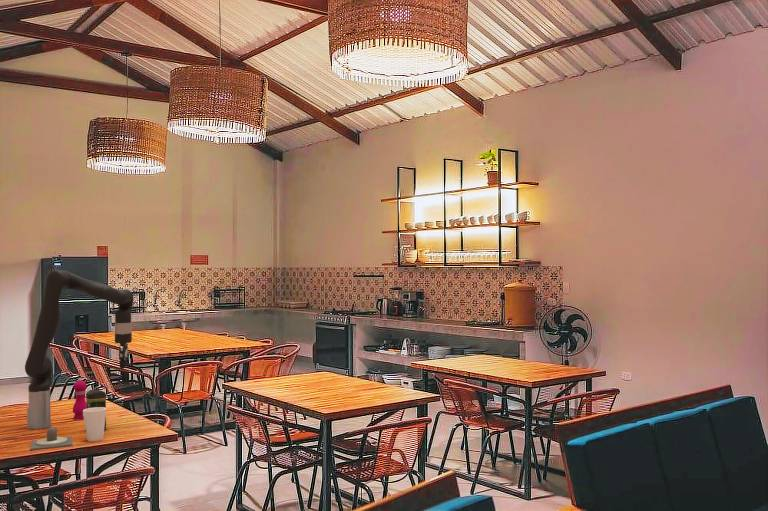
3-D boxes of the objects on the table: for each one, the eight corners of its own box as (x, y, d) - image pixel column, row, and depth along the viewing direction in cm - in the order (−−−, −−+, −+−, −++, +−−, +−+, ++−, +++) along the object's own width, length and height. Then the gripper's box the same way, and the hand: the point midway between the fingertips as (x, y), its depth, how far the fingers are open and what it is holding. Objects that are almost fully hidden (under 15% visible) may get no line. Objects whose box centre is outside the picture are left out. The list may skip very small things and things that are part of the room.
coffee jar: (108, 430, 334) (107, 390, 334) (90, 433, 329) (89, 392, 329) (102, 427, 342) (101, 387, 342) (84, 429, 337) (84, 389, 337)
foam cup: (98, 442, 312) (97, 411, 312) (79, 441, 314) (78, 411, 314) (111, 437, 321) (110, 407, 321) (92, 436, 323) (91, 407, 323)
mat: (30, 450, 301) (30, 448, 301) (31, 442, 315) (31, 440, 315) (72, 445, 307) (72, 444, 307) (72, 437, 322) (72, 436, 322)
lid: (31, 446, 305) (31, 431, 305) (43, 439, 317) (43, 425, 317) (60, 445, 305) (60, 431, 305) (71, 438, 317) (71, 424, 317)
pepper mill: (75, 417, 366) (74, 377, 366) (90, 416, 367) (89, 376, 367) (70, 420, 359) (69, 379, 359) (85, 419, 360) (85, 378, 360)
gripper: (116, 331, 347) (116, 365, 347) (112, 334, 334) (113, 369, 334) (133, 330, 349) (133, 364, 349) (130, 333, 336) (130, 369, 335)
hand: (123, 367), depth 341 cm, fingers open, 8 cm apart
